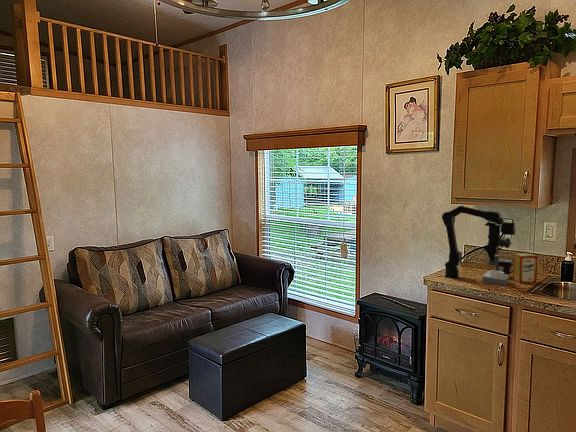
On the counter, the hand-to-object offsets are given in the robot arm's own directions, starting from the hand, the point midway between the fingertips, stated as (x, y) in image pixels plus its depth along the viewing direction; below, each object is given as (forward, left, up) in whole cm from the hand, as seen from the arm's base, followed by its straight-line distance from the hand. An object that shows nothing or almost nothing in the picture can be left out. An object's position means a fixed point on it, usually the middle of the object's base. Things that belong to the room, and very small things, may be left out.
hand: (493, 261), depth 233 cm
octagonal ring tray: (+1, +1, -12) cm, 13 cm away
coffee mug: (+3, +17, -13) cm, 22 cm away
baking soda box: (+14, +12, -13) cm, 23 cm away
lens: (0, 0, -2) cm, 2 cm away
